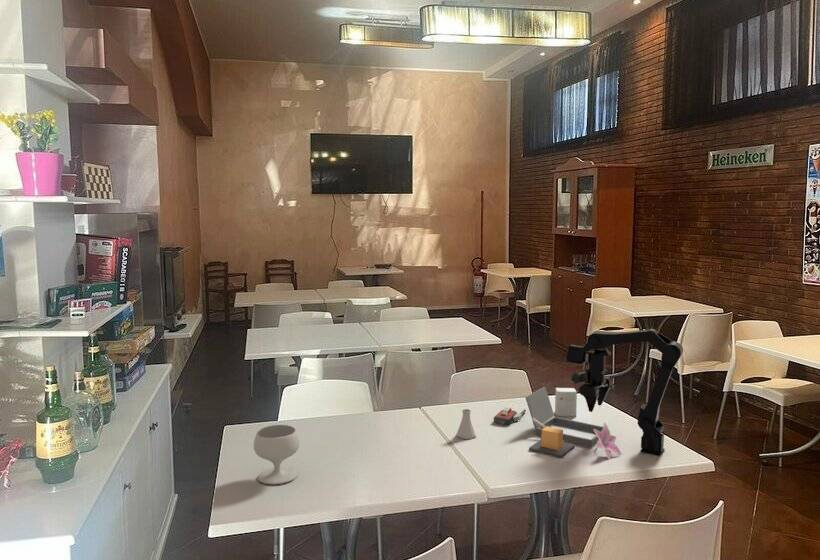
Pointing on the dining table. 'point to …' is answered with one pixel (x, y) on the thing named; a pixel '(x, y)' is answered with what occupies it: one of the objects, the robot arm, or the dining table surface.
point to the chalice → (276, 452)
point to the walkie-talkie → (507, 416)
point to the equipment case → (556, 419)
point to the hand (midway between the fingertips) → (595, 408)
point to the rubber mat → (552, 452)
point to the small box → (565, 401)
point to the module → (552, 438)
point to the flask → (466, 426)
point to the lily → (606, 441)
